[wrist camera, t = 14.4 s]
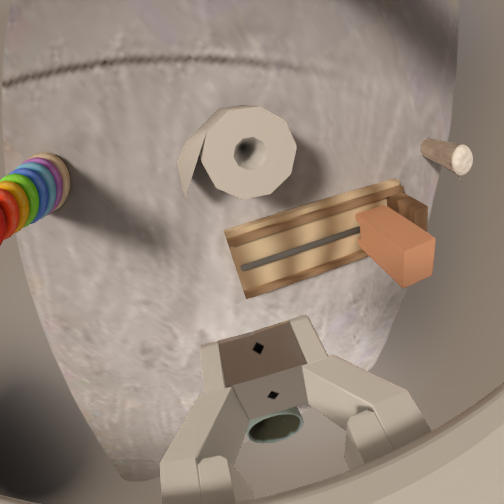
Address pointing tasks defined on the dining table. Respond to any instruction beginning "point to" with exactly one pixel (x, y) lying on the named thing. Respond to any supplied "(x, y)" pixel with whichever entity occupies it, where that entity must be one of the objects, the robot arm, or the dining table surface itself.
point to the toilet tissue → (240, 151)
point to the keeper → (396, 245)
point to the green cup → (275, 426)
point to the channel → (313, 236)
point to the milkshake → (448, 155)
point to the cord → (299, 249)
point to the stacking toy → (32, 192)
